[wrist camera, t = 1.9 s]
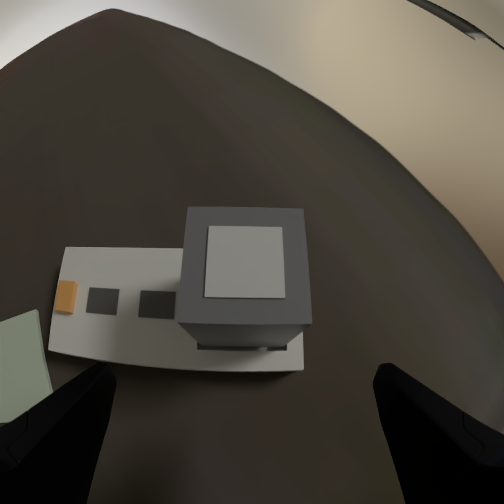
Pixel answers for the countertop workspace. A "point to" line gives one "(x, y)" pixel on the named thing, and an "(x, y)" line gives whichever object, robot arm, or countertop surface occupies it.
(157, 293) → the power strip
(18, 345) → the mat
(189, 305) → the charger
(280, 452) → the countertop surface
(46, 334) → the countertop surface
